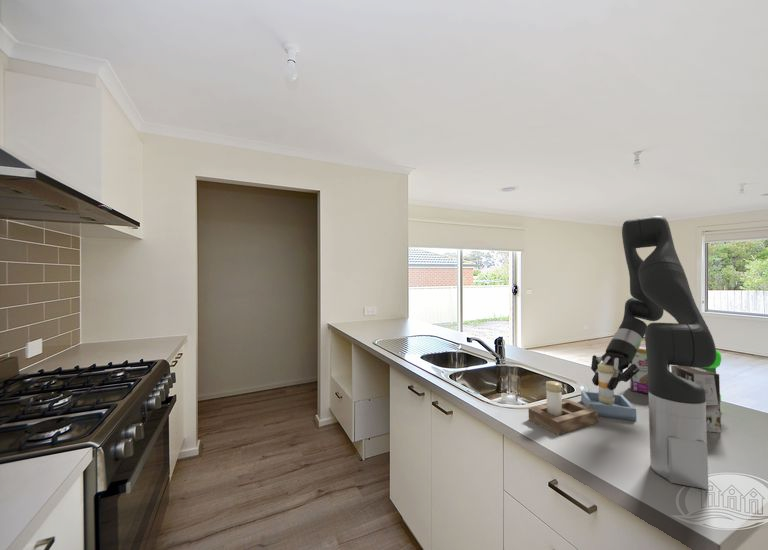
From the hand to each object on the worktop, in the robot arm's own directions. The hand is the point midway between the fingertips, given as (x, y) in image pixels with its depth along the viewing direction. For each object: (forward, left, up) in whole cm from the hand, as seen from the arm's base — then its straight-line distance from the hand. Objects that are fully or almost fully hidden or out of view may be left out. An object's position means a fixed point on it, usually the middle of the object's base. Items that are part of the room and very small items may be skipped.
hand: (602, 386), depth 100 cm
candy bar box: (+24, -20, -8) cm, 33 cm away
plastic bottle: (+14, -30, -8) cm, 35 cm away
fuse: (-15, +16, -8) cm, 23 cm away
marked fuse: (+1, -1, -6) cm, 6 cm away
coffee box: (-2, -22, -8) cm, 24 cm away
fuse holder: (-12, +13, -8) cm, 20 cm away
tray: (+1, -1, -8) cm, 8 cm away
